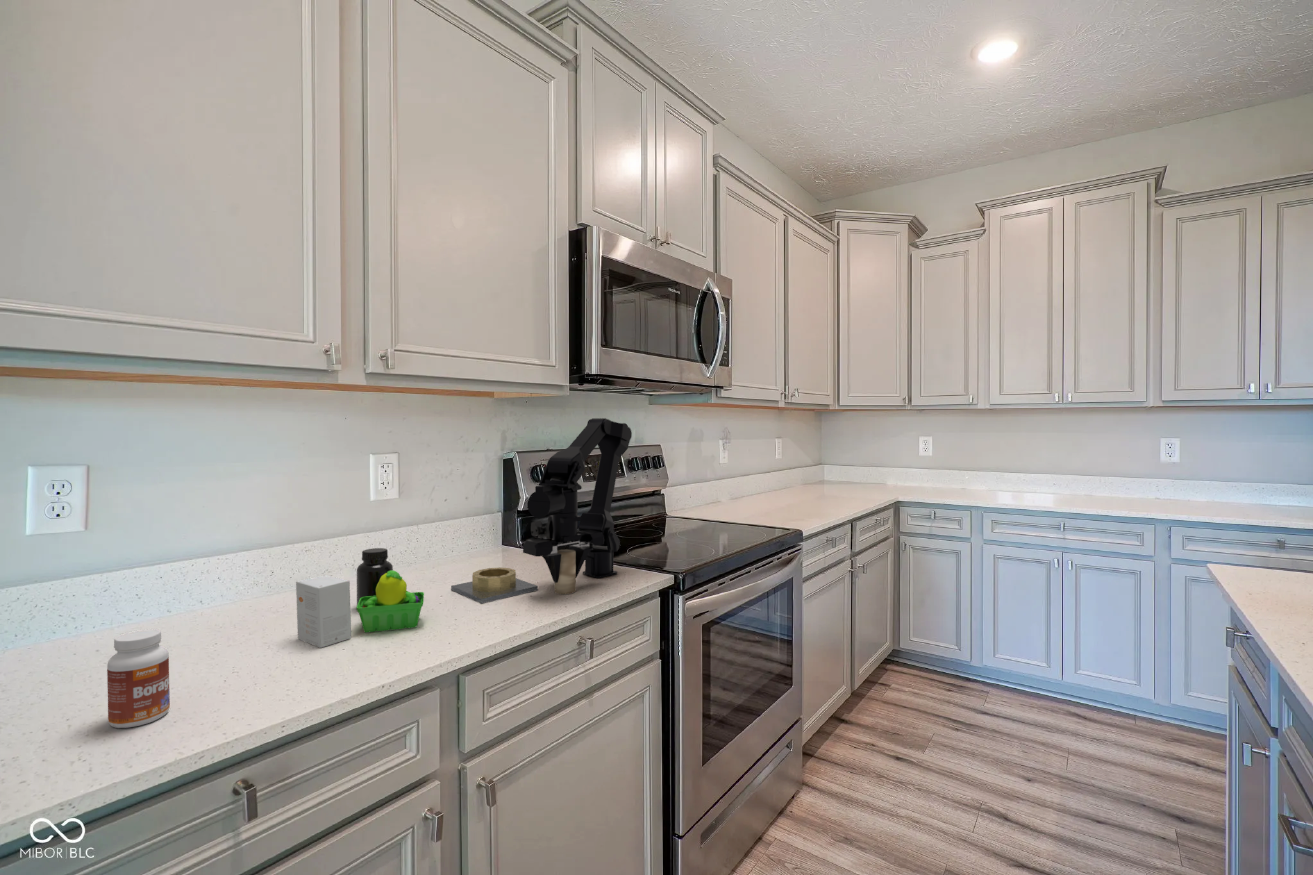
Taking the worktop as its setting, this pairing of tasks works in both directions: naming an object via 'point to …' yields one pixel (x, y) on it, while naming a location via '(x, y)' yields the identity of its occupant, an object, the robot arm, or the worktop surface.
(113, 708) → the pill bottle
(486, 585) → the ring collar
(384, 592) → the fruit basket
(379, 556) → the supplement bottle
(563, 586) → the piston
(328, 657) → the worktop surface
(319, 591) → the small box
